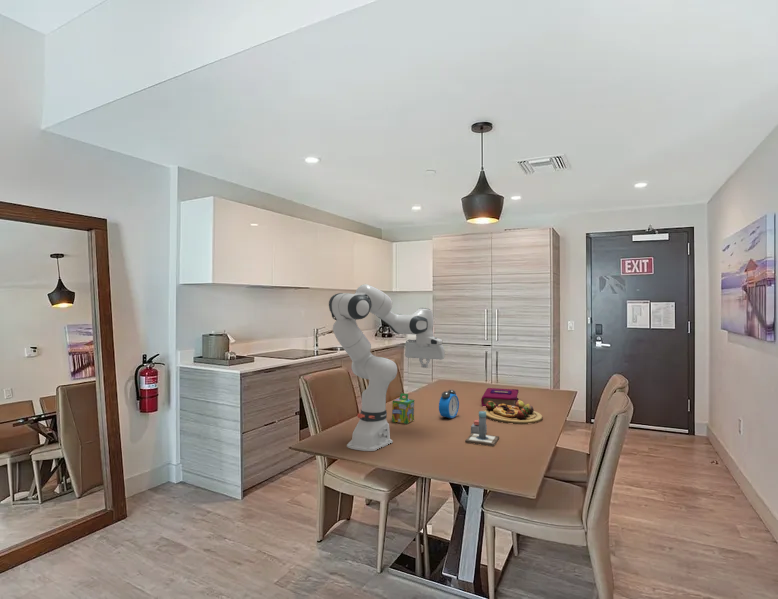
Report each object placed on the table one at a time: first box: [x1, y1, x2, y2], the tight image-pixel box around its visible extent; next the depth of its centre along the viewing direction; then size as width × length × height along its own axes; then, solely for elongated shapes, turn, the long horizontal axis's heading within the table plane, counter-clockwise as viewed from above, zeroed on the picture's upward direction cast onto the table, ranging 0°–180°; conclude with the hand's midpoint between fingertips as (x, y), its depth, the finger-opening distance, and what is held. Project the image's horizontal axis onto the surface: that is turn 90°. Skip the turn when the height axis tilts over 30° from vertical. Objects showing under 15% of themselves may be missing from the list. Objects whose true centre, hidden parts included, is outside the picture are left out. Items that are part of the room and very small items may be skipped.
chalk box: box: [391, 392, 415, 425], centre depth 249 cm, size 9×9×15 cm
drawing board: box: [464, 433, 500, 447], centre depth 216 cm, size 13×13×1 cm
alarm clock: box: [438, 389, 460, 420], centre depth 258 cm, size 13×6×15 cm, turn 144°
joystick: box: [478, 410, 487, 439], centre depth 216 cm, size 3×3×12 cm
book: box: [480, 387, 519, 407], centre depth 295 cm, size 21×28×8 cm
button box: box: [470, 423, 488, 435], centre depth 227 cm, size 6×6×4 cm
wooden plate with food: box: [483, 399, 543, 425], centre depth 260 cm, size 32×32×8 cm
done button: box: [473, 419, 479, 426], centre depth 227 cm, size 4×4×4 cm
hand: (424, 367), depth 235 cm, fingers closed
